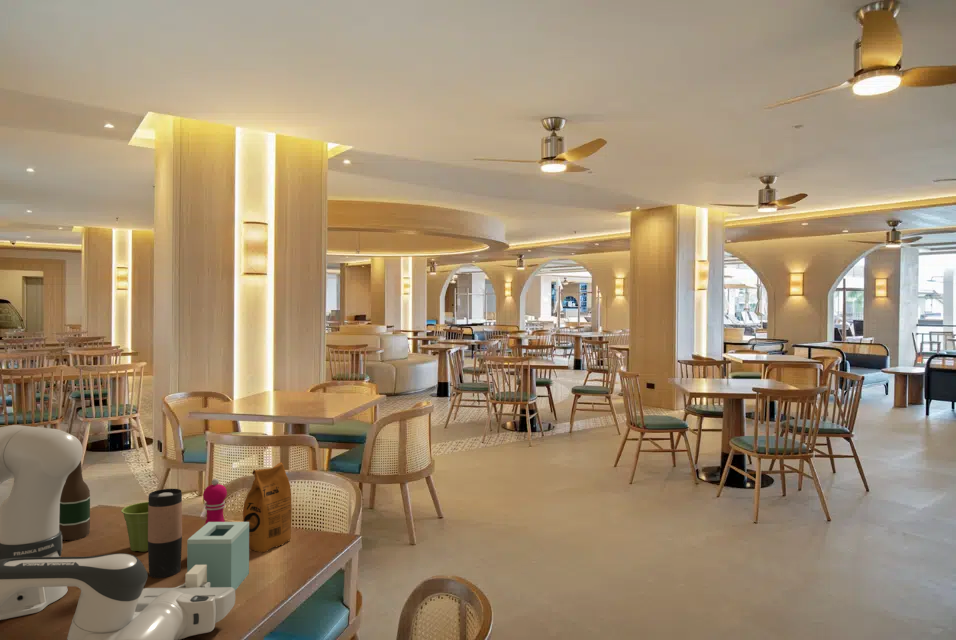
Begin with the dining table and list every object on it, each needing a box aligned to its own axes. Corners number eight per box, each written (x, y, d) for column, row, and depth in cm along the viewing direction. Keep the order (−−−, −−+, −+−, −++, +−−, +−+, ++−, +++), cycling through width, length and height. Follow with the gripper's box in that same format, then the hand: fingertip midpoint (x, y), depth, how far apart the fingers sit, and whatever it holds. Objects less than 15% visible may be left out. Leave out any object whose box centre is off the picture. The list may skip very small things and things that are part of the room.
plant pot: (178, 544, 172) (179, 504, 172) (138, 559, 161) (138, 516, 161) (152, 537, 177) (152, 498, 177) (111, 550, 167) (111, 509, 167)
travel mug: (140, 575, 151) (140, 495, 151) (165, 564, 158) (166, 487, 158) (163, 580, 148) (164, 498, 148) (188, 568, 155) (189, 490, 155)
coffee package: (236, 548, 169) (237, 469, 169) (271, 534, 180) (272, 460, 180) (261, 555, 164) (262, 473, 164) (296, 540, 175) (296, 464, 175)
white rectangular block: (197, 615, 131) (197, 574, 131) (185, 615, 131) (185, 574, 131) (206, 604, 136) (206, 564, 136) (195, 604, 136) (195, 564, 136)
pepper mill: (234, 547, 170) (234, 475, 169) (220, 557, 162) (220, 482, 162) (209, 546, 170) (209, 474, 170) (194, 556, 163) (195, 481, 163)
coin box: (231, 595, 141) (231, 539, 140) (187, 595, 140) (187, 539, 140) (248, 573, 152) (249, 521, 152) (208, 573, 152) (208, 521, 152)
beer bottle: (72, 531, 181) (73, 450, 181) (96, 532, 180) (96, 451, 180) (51, 540, 174) (51, 456, 174) (75, 542, 173) (75, 457, 173)
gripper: (114, 632, 120) (150, 600, 134) (220, 631, 121) (244, 599, 135) (114, 601, 120) (150, 571, 134) (220, 600, 121) (244, 570, 135)
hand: (198, 585), depth 134 cm, fingers closed on white rectangular block, 2 cm apart
